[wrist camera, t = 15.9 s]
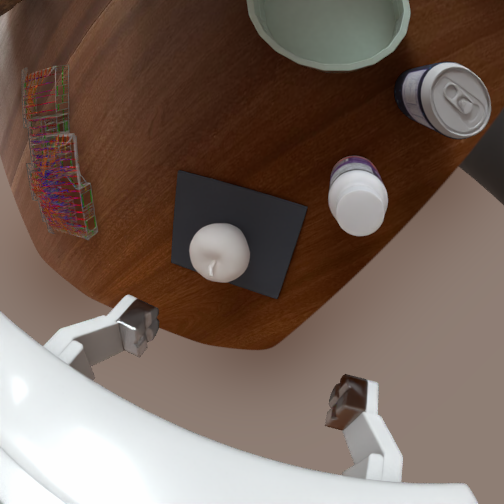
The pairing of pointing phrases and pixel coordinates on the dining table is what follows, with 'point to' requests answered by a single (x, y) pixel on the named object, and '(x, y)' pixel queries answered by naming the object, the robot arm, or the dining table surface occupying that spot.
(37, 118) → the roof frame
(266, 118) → the dining table surface
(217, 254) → the plain white apple
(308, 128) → the dining table surface
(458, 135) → the beverage can
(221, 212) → the mat
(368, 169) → the pill bottle
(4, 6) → the bowl
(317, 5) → the fruit bowl
